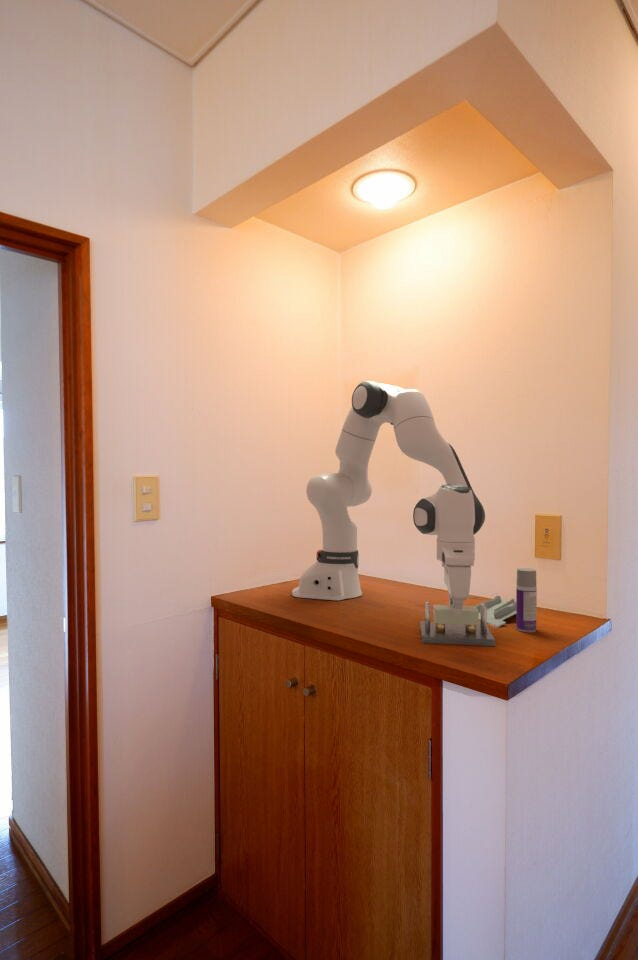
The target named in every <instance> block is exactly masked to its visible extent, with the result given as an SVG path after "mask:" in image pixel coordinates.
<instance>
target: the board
mask: <svg viewBox="0 0 638 960" xmlns="http://www.w3.org/2000/svg"><path fill="white" fill-rule="evenodd" d="M453 607H454V605H450V604H433V622H435V623H439V624H463V625H479V624H480V621H479V611H478V609H477V607H476V605H475V606H474V605H463V606H462V616H460V617H458V616H454V614H453Z"/></svg>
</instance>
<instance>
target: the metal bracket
mask: <svg viewBox="0 0 638 960" xmlns="http://www.w3.org/2000/svg"><path fill="white" fill-rule="evenodd" d="M480 604H485V607H487V623H488V624H487V625H489V624H490V625H489V626H492V627H494V626H495V627H494V628H500V627H502V626H504V625H506V624H507V621H505V620H506V619H509V618H510V617H512V616H515V615H516V600H515V598H511V599H510V600H505V599H502V598H501V596H500V595H498V594H497V595H495V597H494V598H493V599H490V600H485V601H482V602H480V603H478V604H477V605H475V606H476V607H477V609H478V611H479V622H480Z"/></svg>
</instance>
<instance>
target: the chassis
mask: <svg viewBox="0 0 638 960" xmlns="http://www.w3.org/2000/svg"><path fill="white" fill-rule="evenodd" d="M424 604H425V605H424V615H425V616H424V617H425V618H424V620H423V621H421V620H420V622H419V630H420V635H421V641H422V644H434V643H435V644H438V645H458V646H459V645H461V646H482V647H484V646H485V647H495V646H496V638H495V637H494V634H492V631H490V629H489V627H488V624H487V607H485V604H480V603H479V604H480V621H479V625H463V624H439V623H435V622H434V621H431V604H430V601H425V602H424Z"/></svg>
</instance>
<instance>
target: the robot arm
mask: <svg viewBox="0 0 638 960" xmlns="http://www.w3.org/2000/svg"><path fill="white" fill-rule="evenodd" d="M385 423H387V424H390V425H391V426H393V430H394V436H395V440H396V443H397V446H398V447H399V450H400V451H401V453H403V454H404V455H405V456H407V457H408V458H410V459H412V460H415V461H418V462H420V463H424V464H426V465H428V466H431V467H433V468H434V469H436V470H438V471H439V473H441V475H442V477H443V479H444V481H445V483H446V484H442V485H440V486H439V488H438V489H437V492H435V493H433V494H432V495H430V496H427V497H425V498H421V499H420V500H418V502H417V503H416V504H415V506H414V508H413V512H412V513H413V514H412V515H413V516H412V518H413V519H412V520H413V524H414V526H415V528H416V529H417V530H418V531H419V532H420V533H421V534H423V535H427V536H437V537H436V560H438V561H440V562H441V566H442V567H443V568H444V569H443V570H444V571H443V573H444V575H443V580H444V584H445V586H446V588H447V591H448V598H449V599H448V601H449V602H448V605H454V607H453V614H454V616H458V617H460V616H462V606H464V601H467V600H468V599H469V596H470V588H471V577H472V567H474V566H475V560H476V558H475V557H476V550H475V549H476V546H475V545H476V539H475V538H476V537H475V536H474V535H476V534H477V533H478V532H479V531H480V530H481V529H482V527H483V525H484V523H485V520H486V513H485V509H484V506H483V504H482V503H481V501H480V499H479V498H478V497H477V495H476V494H475V492H474V490H473V488H472V485H471V483H470V481H469V479H468V476H467V474H466V472H465V470H464V468H463V465H462V463H461V460H460V458H459V456H458V454H457V452H456V450H455V448H453V447H454V446H452V445H451V444H450V443H449V442H447V441H446V439H445V438H444V437H443V436H442V434H441V432H440V431H439V430H438V427H437V426H436V423H435V419H434V415H433V413H432V410H431V407H430V405H429V403H428V401H427V399H426V397H425V395H424V394H423V392H421V391H420V390H417V389H415V388H407V389H405V388H403V387H400V386H397V385H394V384H386V383H380V382H376V381H373V380H372V381H371V380H366V381H362V382H359V384H358V385H357V386H356V387H355V389H354V390H353V393H352V395H351V408H350V409H349V411H348V414H347V416H346V418H345V420H344V422H343V426H342V428H341V431H340V434H339V438H338V441H337V444H336V447H335V451H334V452H335V457H337V458H338V460H339V468H338V472H333V473H332V472H329V473H328V472H327V473H326V472H325V473H321V474H317V475H315V476H313V477H311V478H310V479H309V480H308V483H307V485H306V497H307V500H308V501H309V503H310V504H312V506H314V508H315V509H316V511H317V513H318V516H319V519H320V523H321V529H322V531H321V532H322V549H318V550H317V551H316V562H315V563H314V564H312V565H311V566H309V567H308V568H307V569H306V570H305V571H303V573H302V574H301V576H300V577H299V582H298V586H297V587H294V588H293V589H292V590H291V595H292V596H293V597H295V598H301V599H302V598H303V599H315V600H328V601H329V600H330V601H343V600H345V599H353V598H358V597H360V596H362V595H363V592H362V589H361V584H360V578H359V569H358V568H359V566H360V559H359V558H360V554H359V550H358V527H357V524H356V523H355V522H354V521H352V519H351V517H350V515H349V511H348V507H357V506H360V505H362V504H365V503H367V502H368V501H369V499H370V498H371V496H372V492H373V491H372V489H373V488H372V484H371V481H370V480H369V477H368V470H369V462H370V458H371V456H372V452H373V450H374V449H373V448H374V446H375V443H376V441H377V437H378V434H379V430H380V428H381V426H382V425H383V424H385Z"/></svg>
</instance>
